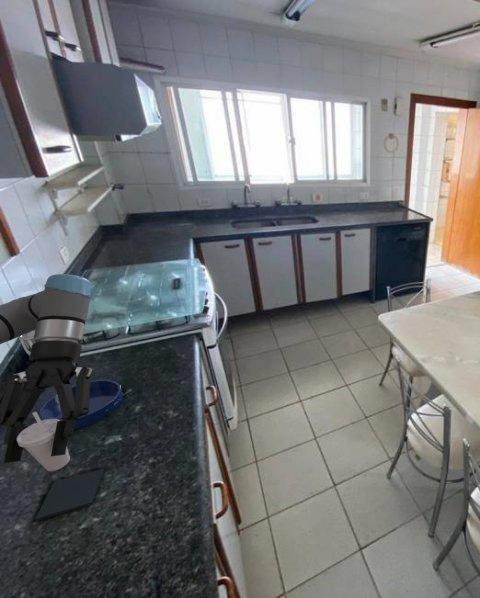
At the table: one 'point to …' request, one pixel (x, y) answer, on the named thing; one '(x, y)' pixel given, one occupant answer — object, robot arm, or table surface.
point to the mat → (70, 494)
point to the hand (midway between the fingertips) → (35, 458)
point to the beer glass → (27, 341)
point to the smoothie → (42, 443)
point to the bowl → (100, 404)
